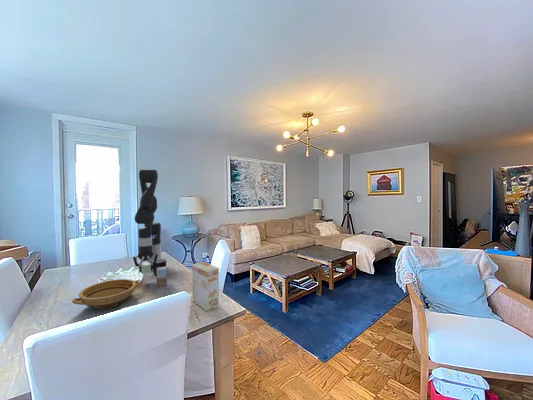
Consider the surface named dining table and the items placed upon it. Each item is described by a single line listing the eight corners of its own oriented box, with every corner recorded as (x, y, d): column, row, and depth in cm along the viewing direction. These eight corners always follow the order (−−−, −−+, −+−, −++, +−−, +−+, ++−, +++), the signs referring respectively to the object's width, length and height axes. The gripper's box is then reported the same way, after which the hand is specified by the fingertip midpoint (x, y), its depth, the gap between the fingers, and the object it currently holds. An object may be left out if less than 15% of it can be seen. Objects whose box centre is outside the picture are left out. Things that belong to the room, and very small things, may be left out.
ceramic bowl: (130, 287, 137) (129, 274, 137) (150, 299, 123) (149, 284, 122) (65, 307, 114) (64, 291, 114) (80, 324, 99) (80, 306, 99)
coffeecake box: (219, 306, 115) (219, 267, 114) (206, 312, 110) (206, 271, 109) (204, 296, 125) (204, 261, 125) (192, 301, 120) (191, 264, 120)
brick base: (156, 284, 140) (156, 275, 140) (165, 282, 142) (165, 274, 142) (157, 287, 136) (157, 278, 135) (166, 285, 138) (166, 277, 138)
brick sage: (141, 271, 145) (141, 263, 145) (150, 270, 148) (150, 262, 147) (141, 274, 141) (141, 266, 140) (150, 272, 143) (150, 264, 143)
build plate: (150, 284, 141) (150, 283, 141) (171, 281, 147) (171, 279, 147) (150, 292, 131) (150, 290, 131) (173, 288, 136) (173, 286, 136)
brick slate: (156, 275, 140) (156, 267, 140) (165, 274, 142) (165, 266, 142) (157, 278, 135) (157, 270, 135) (166, 277, 138) (166, 268, 138)
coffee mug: (169, 273, 161) (168, 259, 160) (162, 278, 152) (162, 263, 152) (153, 273, 162) (152, 258, 161) (145, 277, 153) (145, 262, 153)
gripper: (157, 241, 150) (158, 267, 151) (132, 244, 143) (132, 271, 144) (158, 244, 143) (159, 271, 144) (131, 247, 136) (132, 275, 137)
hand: (146, 271), depth 144 cm, fingers closed on brick sage, 5 cm apart
